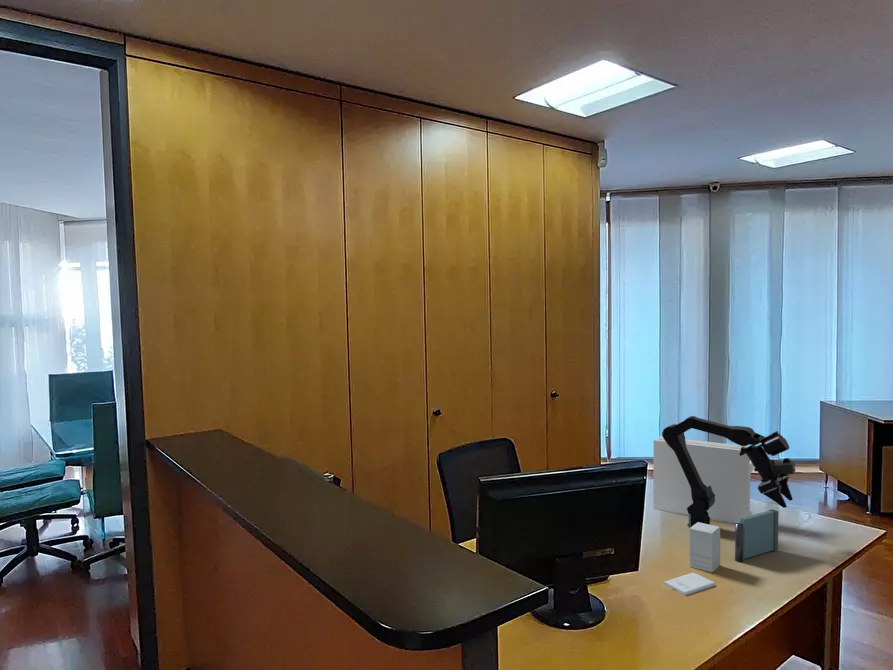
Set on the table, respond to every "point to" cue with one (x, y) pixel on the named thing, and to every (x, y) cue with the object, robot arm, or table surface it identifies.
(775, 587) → the table surface
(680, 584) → the external hard drive
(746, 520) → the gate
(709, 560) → the supplement box
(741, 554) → the gate post
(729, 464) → the block
